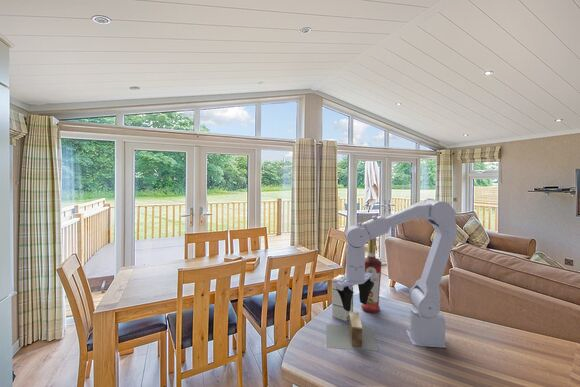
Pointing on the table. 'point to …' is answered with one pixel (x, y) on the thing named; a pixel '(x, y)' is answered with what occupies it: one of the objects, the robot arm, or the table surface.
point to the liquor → (374, 268)
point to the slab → (355, 329)
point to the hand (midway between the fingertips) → (355, 306)
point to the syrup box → (339, 301)
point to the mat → (341, 338)
